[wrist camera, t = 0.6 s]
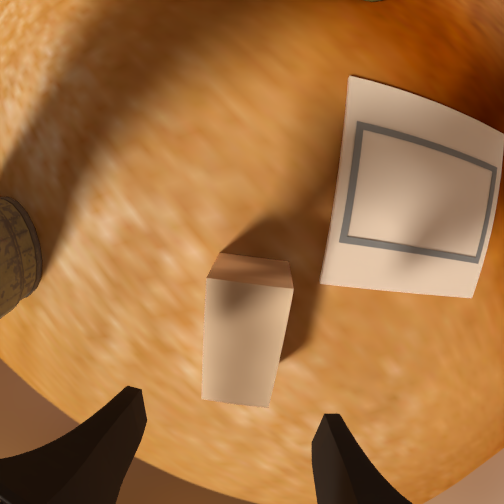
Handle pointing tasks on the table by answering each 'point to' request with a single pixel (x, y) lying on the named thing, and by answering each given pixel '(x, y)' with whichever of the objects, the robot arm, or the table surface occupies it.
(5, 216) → the thermos
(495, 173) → the mat
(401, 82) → the table surface
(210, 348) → the tall beige pillar block
